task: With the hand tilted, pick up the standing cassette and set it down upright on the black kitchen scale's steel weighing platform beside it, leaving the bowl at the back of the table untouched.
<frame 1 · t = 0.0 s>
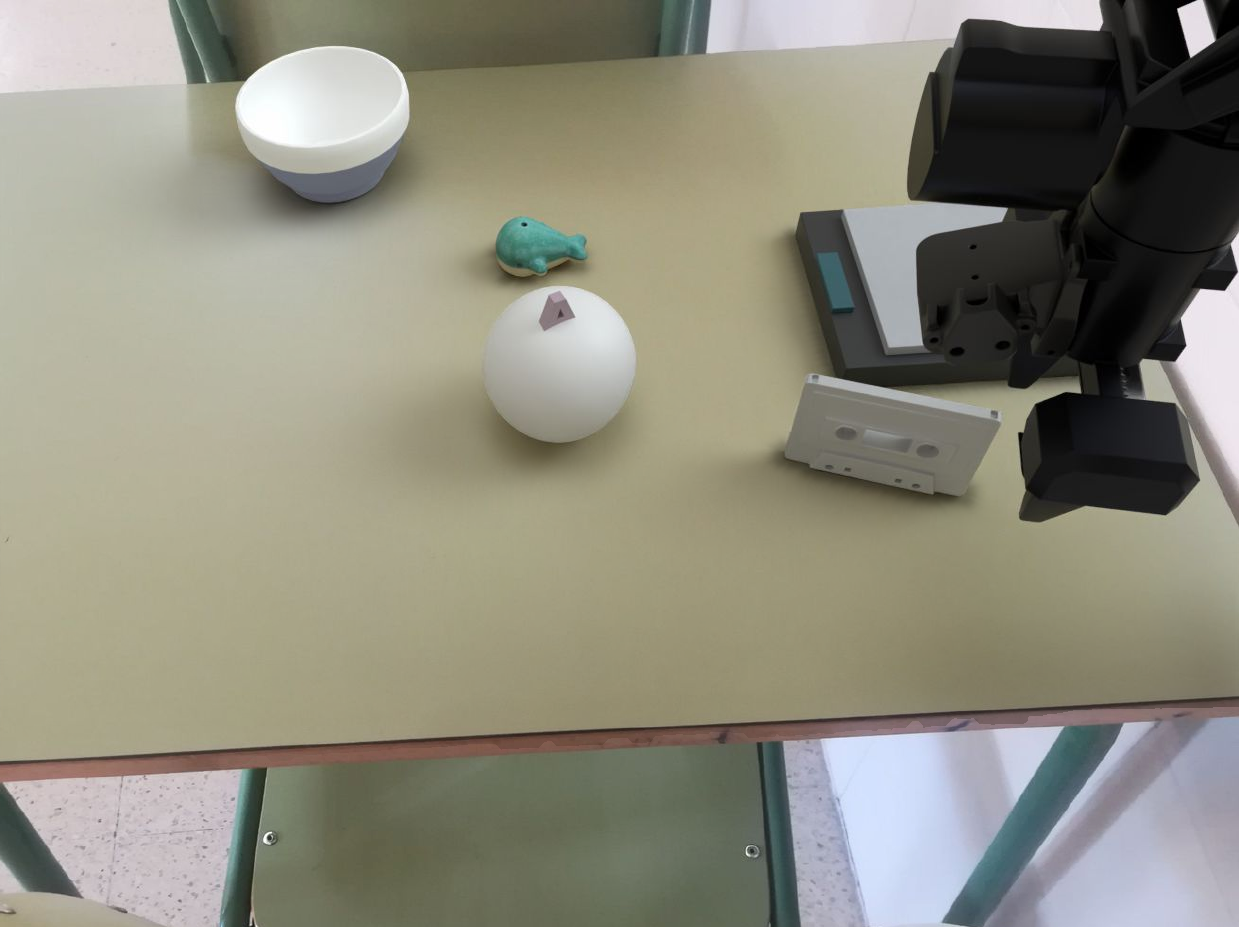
hand: (1022, 449, 56), 13 cm above the table, tool pointing down, fingers open, 9 cm apart
ornament: (558, 416, 76), on the table
whale figurine: (541, 263, 85), on the table
bowl: (337, 175, 93), on the table
cassette: (871, 474, 72), on the table
scale: (954, 298, 80), on the table
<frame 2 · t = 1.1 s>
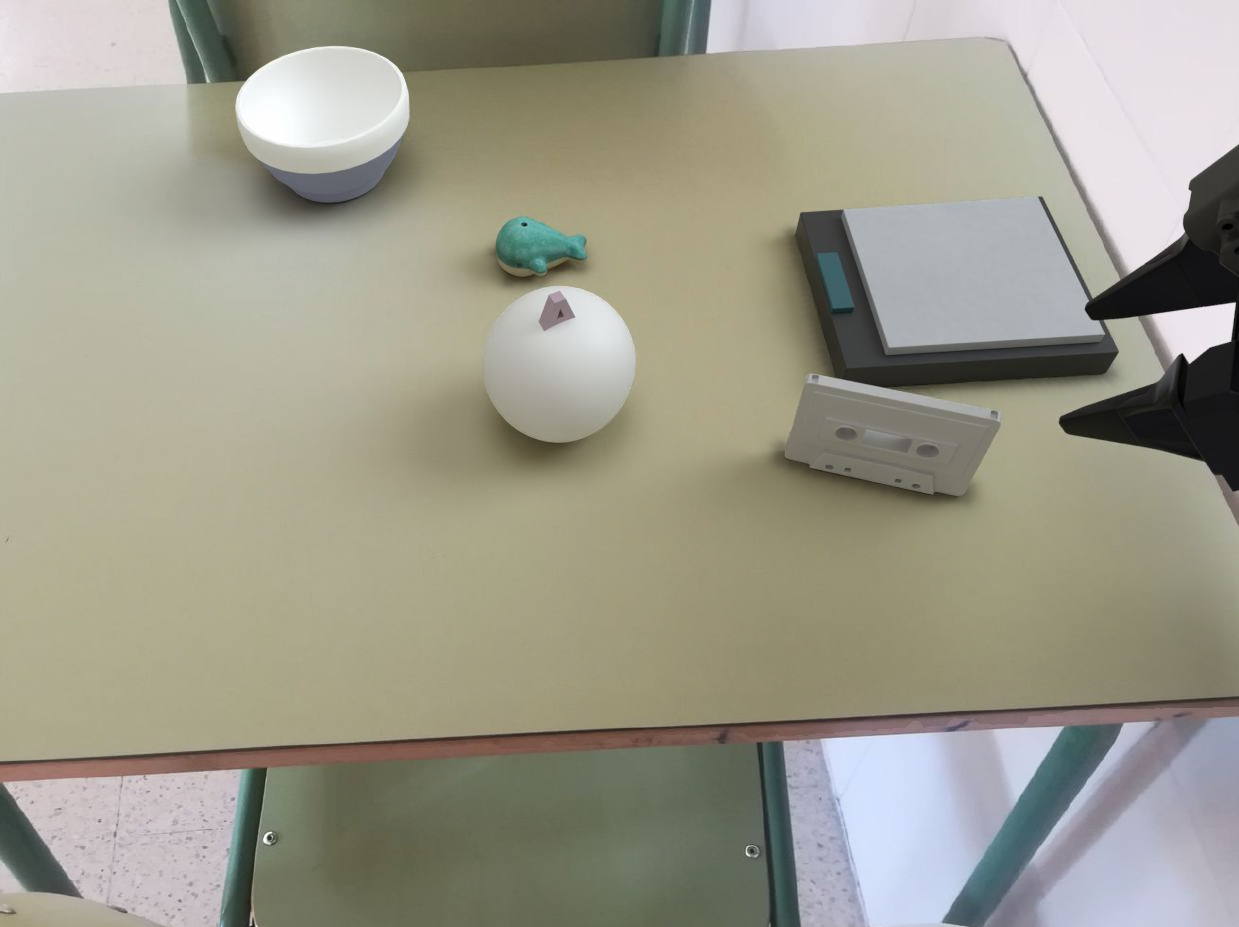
hand: (1075, 367, 58), 13 cm above the table, tool tilted 45°, fingers open, 9 cm apart
nothing on the table moved.
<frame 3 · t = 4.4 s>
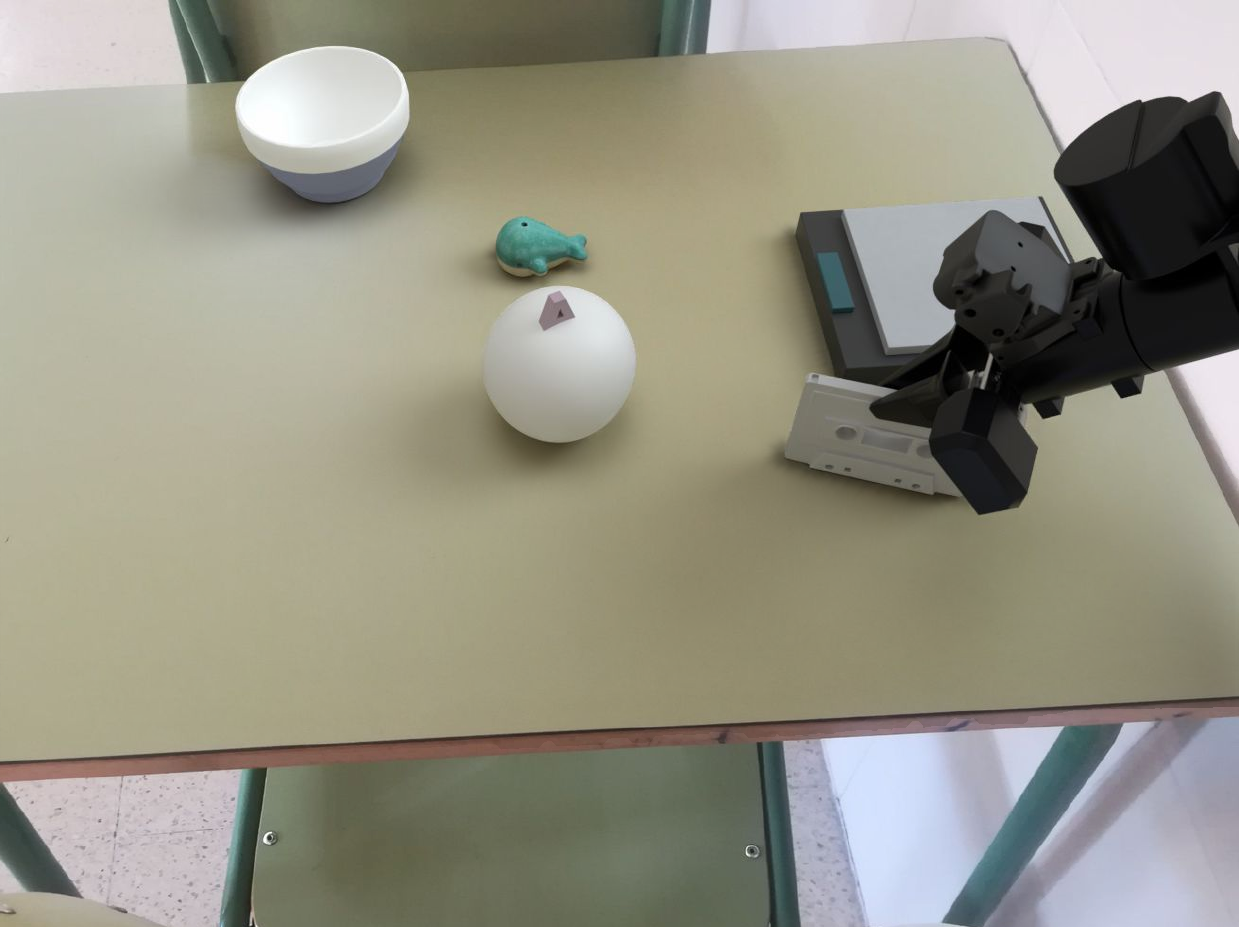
hand: (875, 402, 67), 7 cm above the table, tool tilted 45°, fingers closed on cassette, 1 cm apart
cassette: (871, 474, 72), on the table, touching gripper
everything else where it was.
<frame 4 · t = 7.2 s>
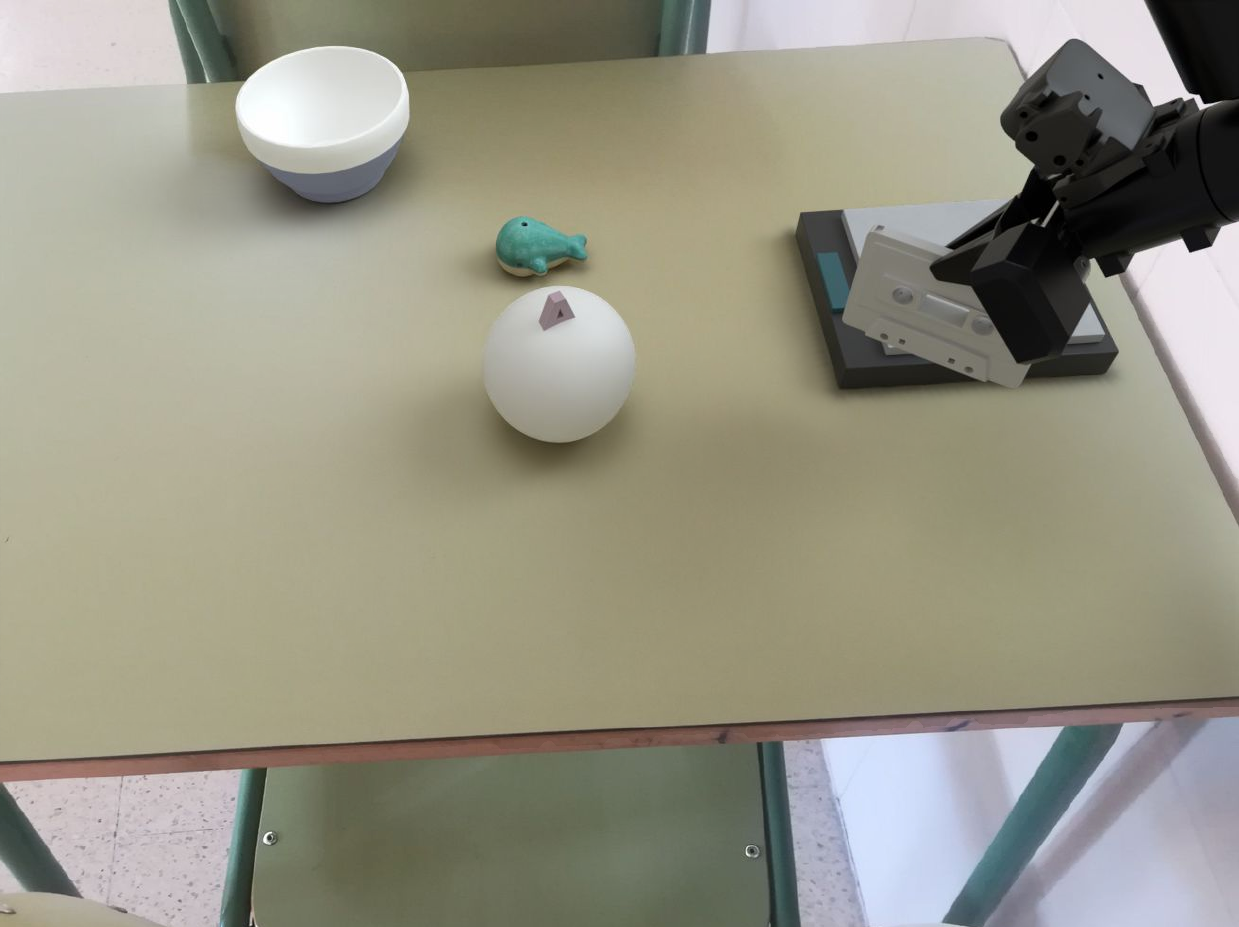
hand: (938, 265, 64), 13 cm above the table, tool tilted 45°, fingers closed on cassette
cassette: (927, 353, 69), point 6 cm above the table, touching gripper
everything else where it was.
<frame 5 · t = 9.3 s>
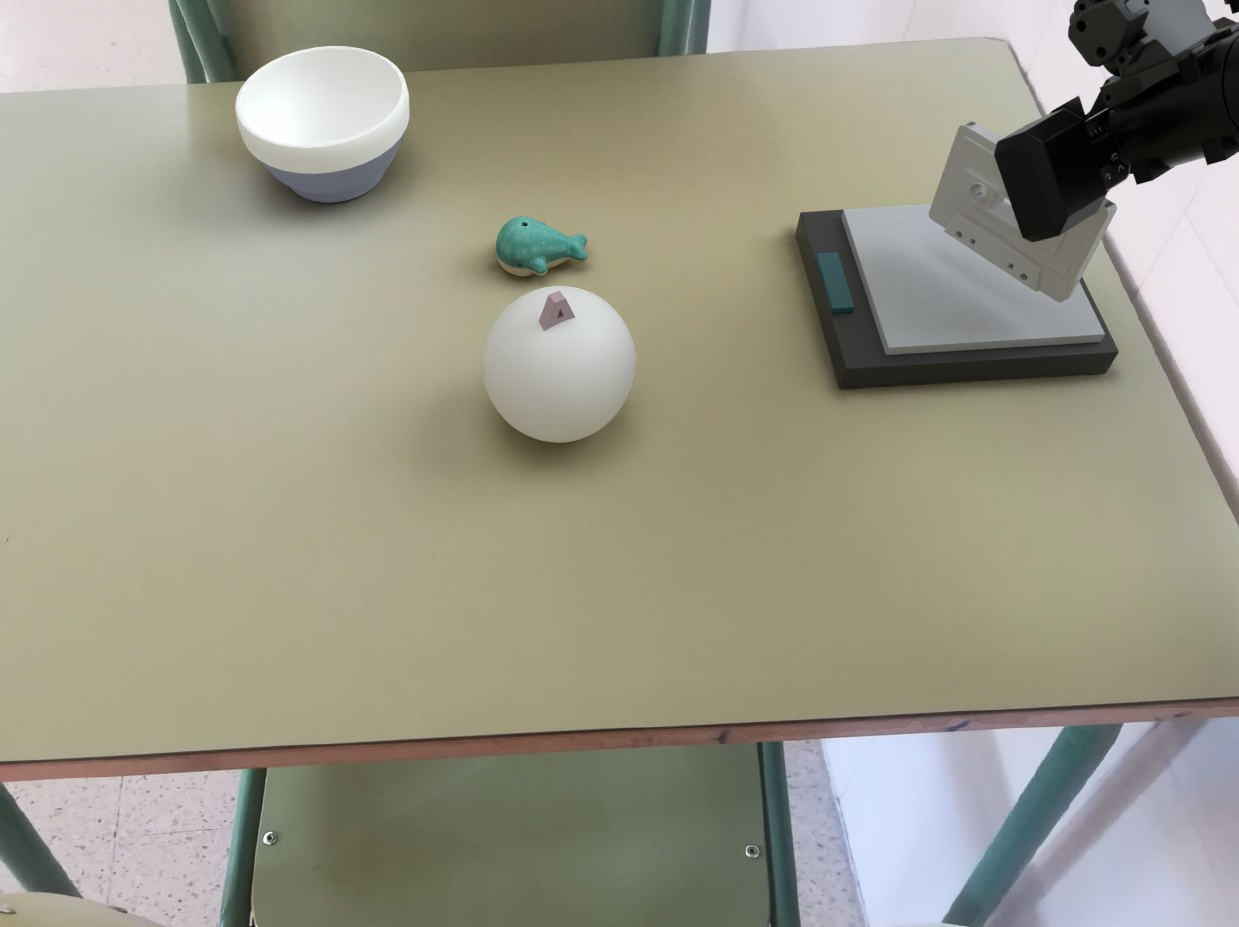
hand: (1013, 167, 70), 12 cm above the table, tool tilted 45°, fingers closed on cassette, 1 cm apart
cassette: (994, 259, 75), point 5 cm above the table, touching gripper
everything else where it was.
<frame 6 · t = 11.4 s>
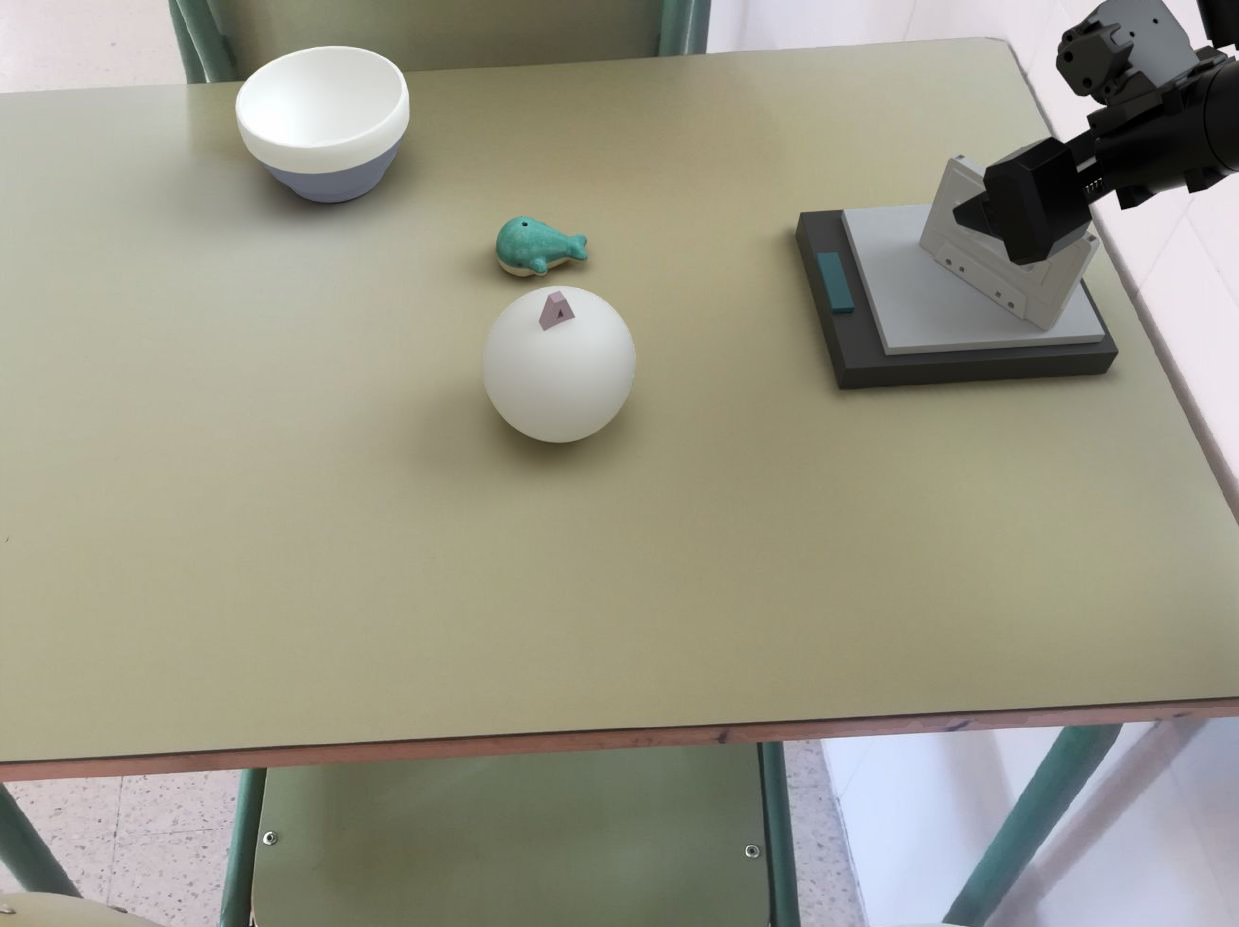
hand: (1003, 187, 71), 10 cm above the table, tool tilted 45°, fingers open, 9 cm apart
cassette: (983, 286, 77), point 3 cm above the table, touching scale
everything else where it was.
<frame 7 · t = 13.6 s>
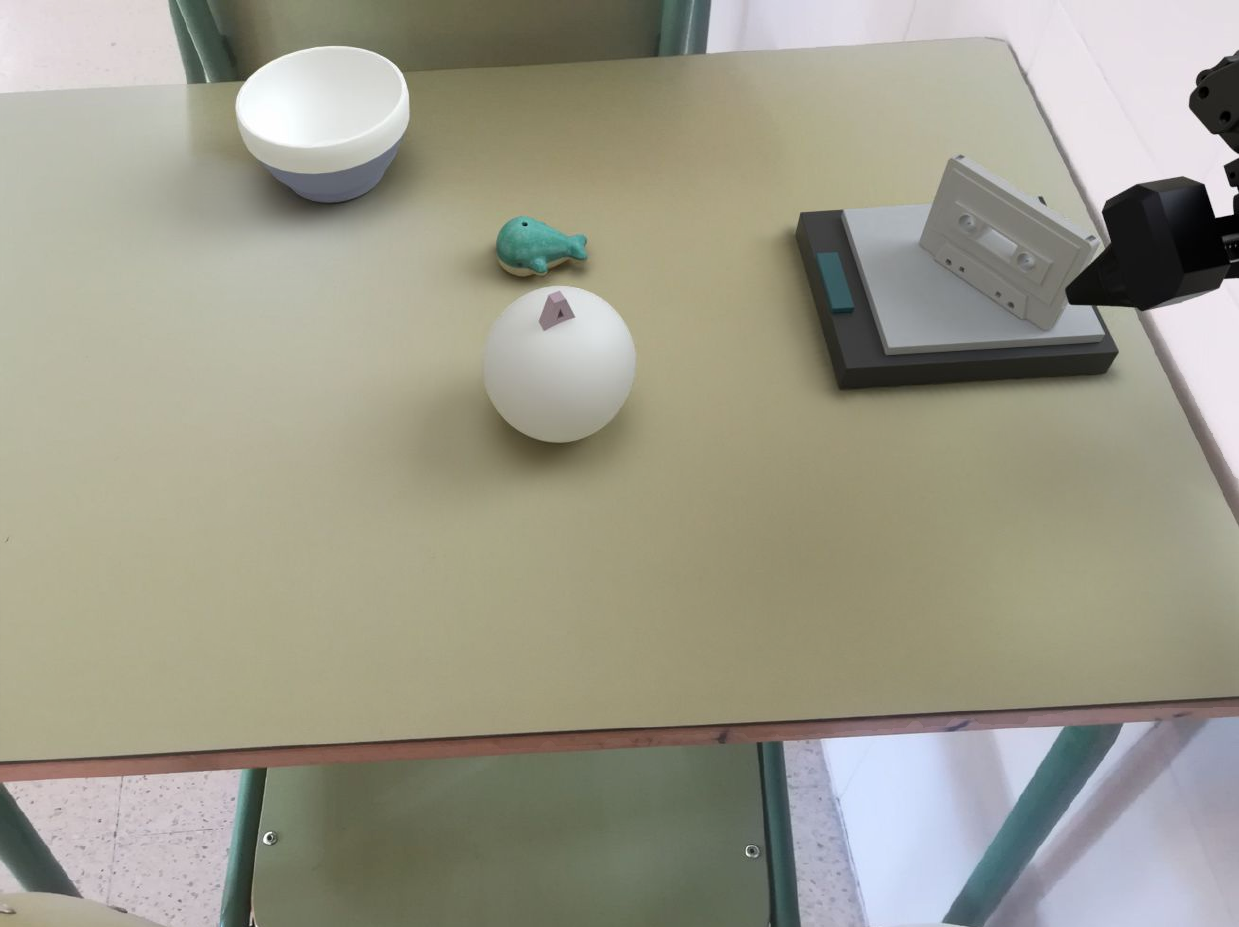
hand: (1124, 284, 65), 11 cm above the table, tool tilted 30°, fingers open, 9 cm apart
nothing on the table moved.
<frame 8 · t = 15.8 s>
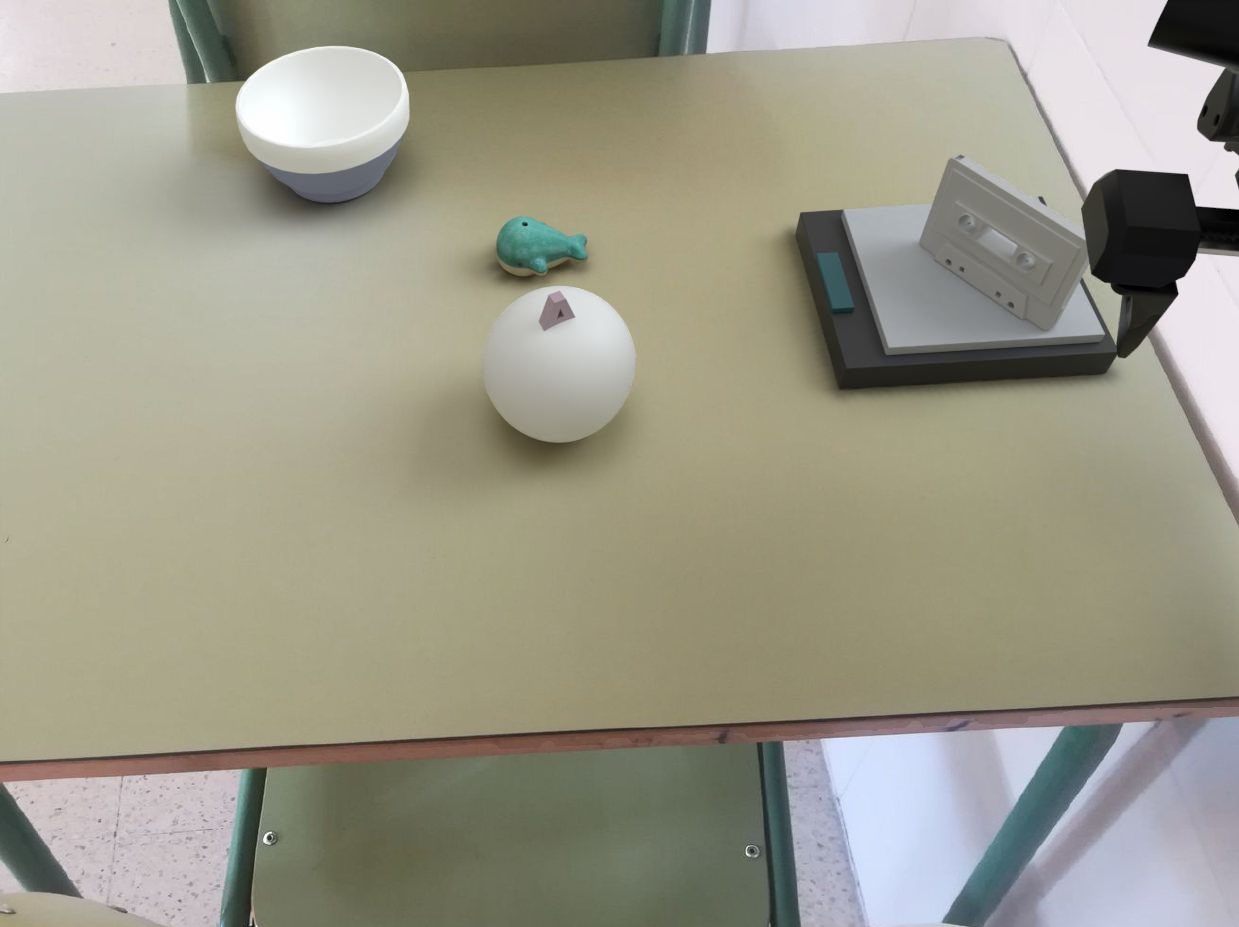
hand: (1208, 360, 58), 13 cm above the table, tool pointing down, fingers open, 9 cm apart
nothing on the table moved.
at the end: cassette inside the target area on the scale (1.9 cm from its centre), point 2.8 cm above the scale's base; cassette tilted 0°; bowl moved 0.2 cm from its start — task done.
